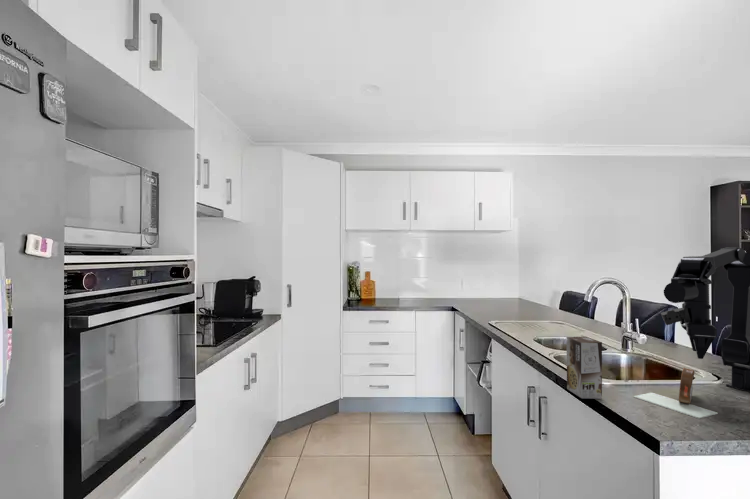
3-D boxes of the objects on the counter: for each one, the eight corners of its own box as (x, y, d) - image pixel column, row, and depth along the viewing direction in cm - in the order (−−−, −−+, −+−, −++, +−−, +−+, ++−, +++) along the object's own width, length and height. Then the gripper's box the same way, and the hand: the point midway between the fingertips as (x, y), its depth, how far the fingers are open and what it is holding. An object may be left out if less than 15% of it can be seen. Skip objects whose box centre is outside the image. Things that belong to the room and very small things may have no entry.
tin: (681, 392, 125) (682, 364, 125) (694, 395, 123) (695, 366, 123) (677, 405, 113) (678, 374, 113) (692, 408, 111) (692, 376, 111)
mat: (651, 393, 124) (651, 392, 124) (717, 413, 109) (717, 412, 109) (633, 397, 121) (633, 396, 121) (699, 418, 105) (699, 417, 105)
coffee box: (603, 398, 120) (603, 342, 120) (580, 399, 119) (580, 342, 120) (586, 388, 129) (586, 335, 129) (565, 388, 129) (565, 335, 129)
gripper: (660, 295, 132) (661, 345, 132) (665, 303, 116) (666, 359, 116) (704, 297, 127) (705, 348, 127) (716, 305, 111) (717, 364, 111)
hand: (697, 354), depth 120 cm, fingers open, 9 cm apart
